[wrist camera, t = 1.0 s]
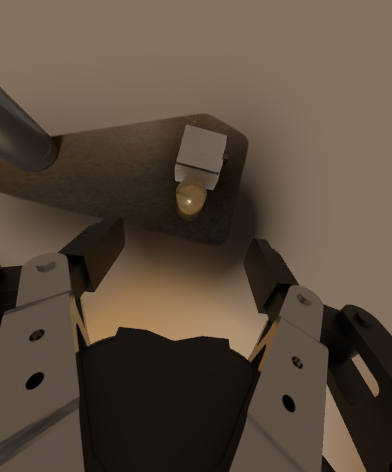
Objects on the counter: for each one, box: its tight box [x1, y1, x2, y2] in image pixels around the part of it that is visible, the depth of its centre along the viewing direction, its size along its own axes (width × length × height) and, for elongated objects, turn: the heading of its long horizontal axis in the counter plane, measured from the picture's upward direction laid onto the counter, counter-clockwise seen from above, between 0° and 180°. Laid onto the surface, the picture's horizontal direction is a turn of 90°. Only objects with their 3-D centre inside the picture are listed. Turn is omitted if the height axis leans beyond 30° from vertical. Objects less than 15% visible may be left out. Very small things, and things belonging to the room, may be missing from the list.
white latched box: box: [175, 143, 226, 190], centre depth 36 cm, size 9×9×5 cm
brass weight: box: [176, 179, 207, 223], centre depth 32 cm, size 5×5×10 cm
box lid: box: [176, 124, 229, 175], centre depth 34 cm, size 10×8×4 cm
